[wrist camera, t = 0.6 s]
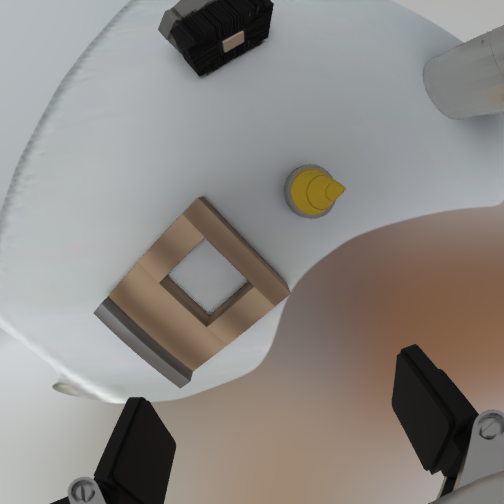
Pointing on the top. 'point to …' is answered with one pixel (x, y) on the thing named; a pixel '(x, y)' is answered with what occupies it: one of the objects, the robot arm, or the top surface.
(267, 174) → the top surface
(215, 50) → the cpu cooler
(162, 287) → the jig
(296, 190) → the drill bit
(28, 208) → the top surface
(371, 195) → the top surface
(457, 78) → the robot arm
